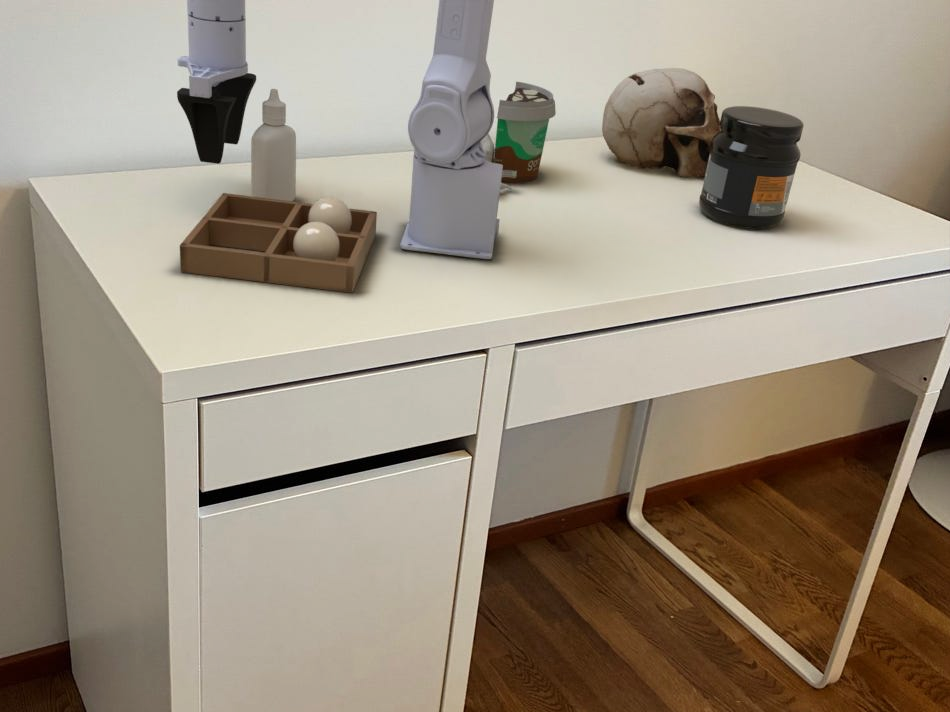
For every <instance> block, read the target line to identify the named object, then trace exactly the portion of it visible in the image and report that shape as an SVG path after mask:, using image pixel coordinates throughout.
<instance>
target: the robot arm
mask: <svg viewBox="0 0 950 712" xmlns="http://www.w3.org/2000/svg"><path fill="white" fill-rule="evenodd" d="M494 3H495V0H438V9H437V16H436V17H437V18H436V26H435V36H434V43H433V44H434V45H433V50H432V51H433V53H432V57H431V59H430V62H429V64H428V67H427V70H426V71H425V74H424V77H423V79H422V83H421V91H420V92H421V93H420V95H419V99H418V101H417V103H416V104H415V105H414V107H413V109H412V111H411V112H410V114H409V118H408V122H407V133H408V137H409V138H408V139H409V141H410V143H411V145H412V147H413V159H412V172H411V173H412V175H411V185H410V201H409V212H408V213H409V215H408V221H407V223H406V227H405V230H404V232H403V235H402V238H401V240H400V245H399V246H400V249H402V250H407V251H415V252H423V253H431V254H438V255H439V254H440V255H446V256H447V255H449V256H454V257H455V256H456V257H464V258H473V259H481V260H492V259H493V254H494V253H493V252H494V246H495V245H494V244H495V238H497V237H499V231H500V222H501V219H500V218H498V212H499V201H500V193H501V190H500V186H501V178H502V169H503V165H501V164H497V163H492V162H489V161H486V160H485V154H484V150H483V146H482V144H481V140H482V139H483V138H484V137H485V136H486V135H487V134H489V133H490V132H491V130H492V128H493V126H494V121H495V108H494V107H495V106H494V104H493V100H492V97H491V91H490V87H491V86H490V85H491V80H492V73H491V70H490V67H489V65H488V62H487V53H488V47H489V40H490V33H491V24H492V18H493V10H494ZM186 7H187V8H186V9H187V35H188V37H187V38H188V39H187V40H188V55H181V56H179V57H178V58H177V66H178V67H183V68H187V70H188V73H189V75H188V83H189V85H188V86H189V88H188V87H181V88H179V89H178V90H177V92H176V98H177V102H178V103H179V105H180V107H181V108H182V110H183V113H185V116H186V119H187V121H188V123H189V126H190V129H191V132H192V136H193V140H194V145H195V149H196V152H197V155H198V159H199V161H200V162H201V163H209V164H217V165H218V164H221V163H222V159H223V156H224V150H225V144H229V145H238V144H239V142H240V138H241V133H242V129H243V128H242V127H243V122H244V117H245V111H246V108H247V104H248V102H249V101H248V100H249V98H250V95H251V92H252V90H253V89H254V86H255V84H256V82H257V75H256V74H254V73H250V72H249V63H248V61H247V30H246V28H247V27H246V25H247V24H246V19H247V18H246V0H186Z"/></svg>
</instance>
